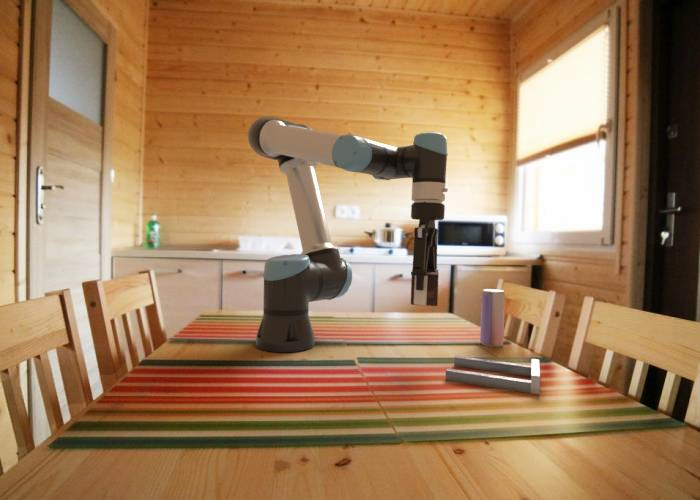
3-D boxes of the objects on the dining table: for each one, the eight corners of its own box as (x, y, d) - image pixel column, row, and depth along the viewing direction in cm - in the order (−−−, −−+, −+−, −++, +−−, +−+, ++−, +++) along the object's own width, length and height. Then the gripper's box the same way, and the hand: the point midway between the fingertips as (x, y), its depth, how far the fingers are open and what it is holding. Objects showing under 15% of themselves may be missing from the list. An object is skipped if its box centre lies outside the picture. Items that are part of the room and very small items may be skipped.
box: (437, 307, 95) (438, 274, 94) (410, 305, 96) (411, 273, 95) (437, 302, 100) (438, 271, 100) (411, 301, 102) (413, 270, 101)
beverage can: (479, 345, 115) (481, 290, 114) (481, 340, 120) (482, 288, 120) (502, 348, 112) (504, 292, 112) (503, 343, 118) (505, 289, 117)
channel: (445, 380, 86) (445, 363, 86) (455, 364, 98) (455, 349, 97) (539, 394, 80) (540, 376, 79) (538, 375, 91) (539, 359, 90)
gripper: (435, 199, 87) (430, 310, 88) (452, 205, 105) (448, 298, 106) (399, 198, 90) (395, 307, 91) (422, 205, 108) (418, 295, 109)
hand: (423, 302), depth 98 cm, fingers closed on box, 7 cm apart
